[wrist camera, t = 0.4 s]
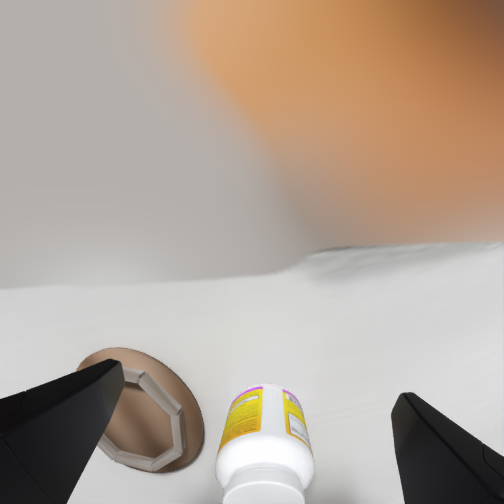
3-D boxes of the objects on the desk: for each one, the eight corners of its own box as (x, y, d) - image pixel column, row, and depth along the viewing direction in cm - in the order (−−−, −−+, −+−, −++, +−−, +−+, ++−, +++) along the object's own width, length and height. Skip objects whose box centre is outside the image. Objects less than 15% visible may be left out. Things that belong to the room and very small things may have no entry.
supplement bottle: (223, 431, 25) (196, 523, 12) (238, 373, 25) (213, 457, 12) (290, 444, 24) (300, 539, 11) (311, 388, 24) (339, 476, 12)
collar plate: (146, 484, 25) (135, 502, 21) (57, 393, 26) (38, 404, 22) (235, 429, 24) (230, 450, 21) (124, 316, 26) (104, 323, 22)
